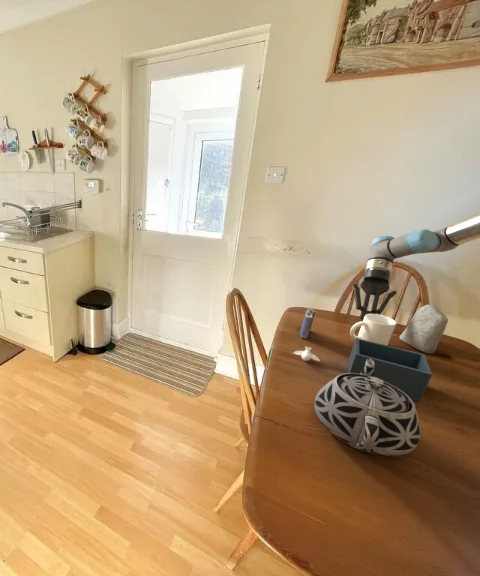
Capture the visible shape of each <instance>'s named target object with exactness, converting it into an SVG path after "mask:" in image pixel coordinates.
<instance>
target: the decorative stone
mask: <svg viewBox="0 0 480 576" xmlns="http://www.w3.org/2000/svg"><path fill="white" fill-rule="evenodd" d="M448 322H449V318H448V317H447V315H445V313H443V312H442V311H441V310H440V309H439V307H437V306H436V305H434V304H432V303H431V304H425V305H423V306H421V307H420V308H419V309H417V311H416V312H415V313H414V314H413V316H412V317H411V318H410V320H409V322H408V324H407V326H406V327H405V328H404V329H403V332H402V333H401V334H400V335H399V338H398V339H400V340H401V341H402V342H403V343H405V344H408V346H410V347H413V348H414V349H416V350H418V351H419V352H422V353H425V354H435V353H436V351H437V348H438V345H439V341H440V340H441V337H442V336H443V334H444V332H445V330H446V328H447V324H448Z"/></svg>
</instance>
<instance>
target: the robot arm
mask: <svg viewBox="0 0 480 576" xmlns="http://www.w3.org/2000/svg"><path fill="white" fill-rule="evenodd" d="M479 239H480V213H478V214H476V215H473V216H471V217H468V218H466V219H463V220H460V221H459V222H456V223H453V224H451V225H448V226H446V227H444V228H443V227H442V228H441V229H439V230H436V231H432V230H429V229H421V230H415V231H412V232H410V233H407V234H404V235H400V236H398V237H393V236H390V235H384V236H382V235H381V236H377V237H375V238H374V239H373V240H372V242H371V246H370V247H369V254H368V257H367V261H366V266H365V270H364V274H363V278H362V281H361V282H360V283H357V284H356V283H354V284H353V285H352V287H351V289H352V290H353V292H354V300H355V309H356V310H358V311H360V317H359V319H360V320H362V321H363V320H364V317H365V315H366V314H379V315H382V313H383V311H384V310H385V308H386V307H387V305H388V304H389V302H390V300H391V299H392V298H394V297H395V296H396V295H397V292H398V291H397V290H392V289H391V287H390V280H391V274H392V270H393V266H394V262H395V260H396V259H400V258H403V257H408V256H411V255H416V254H417V255H418V254H428V253H429V254H430V253H444V252H448V251H452V250H455V249H457V248H458V247H459V246H462V245H464V244H467V243H470V242H473V241H475V240H479ZM361 290H362V291H363V293H365V294H364V300H363V302H362V298H361ZM385 293H386V297H385V299H384V300H383V302H382V303H381V305H380V307H379V308H378V305H379V301H380V297H381V296H382V295H383V294H385ZM371 296H373V300H372V304H371V308H370V310H368V307H369V304H370V299H371Z"/></svg>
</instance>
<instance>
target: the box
mask: <svg viewBox="0 0 480 576" xmlns="http://www.w3.org/2000/svg"><path fill="white" fill-rule="evenodd" d="M367 359H372V360H373V361H374V363H375V366H374V377H376V378H379V379H381V380H383V381H385V382H387V383H389V384H391V385H393V386H395V387H397V388H399V389H400V390H402V391H403V392H404V393H406V394H407V395H408V396H409V397H410V398H411V400H412V401H413V402H414V401H415V402H417V403H420V402H421V399H422V397H423V395H424V393H425V391H426V389H427V386H428V385H429V382H430V379H431V377H432V375H433V373H432V371H431V368H430V365H429V362H428V360H427V357H426V354H424V353H420V352H416V351H413V350H407V349H403V348H399V347H395V346H390V345H388V346H387V345H383V344H379V343H375V342H370V341H366V340H362V339H358V338H356V339H354V343H353V345H352V348H351V352H350V355H349V358H348V360H347V373H356V374H361V372H362V371H363V369H364V367H365V363H366V360H367Z"/></svg>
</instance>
